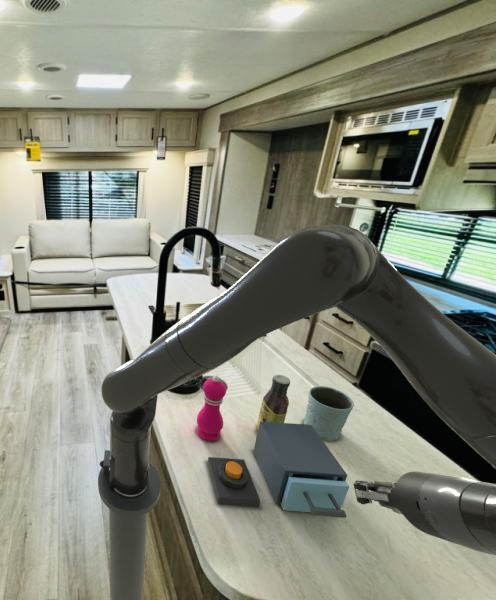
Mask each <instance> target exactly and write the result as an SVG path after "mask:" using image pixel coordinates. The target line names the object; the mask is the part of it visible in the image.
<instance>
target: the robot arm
mask: <svg viewBox="0 0 496 600" xmlns="http://www.w3.org/2000/svg"><path fill="white" fill-rule="evenodd" d="M333 308H336V309H337V310H339V311H340V312H342V313H343V314H344V315H346V316H347V317H348V318H350V319H351V320H352V321H353V322H355V323H356V324H357V325H358V326H359V327H361V328H362V329H363V331H365V332H366V333H368V335H369V336H370V337H371V338H372V339H374V341H375V342H376V343H377V344H378V345H379V346H380V347H381V348H382V349H383V350H384V351H385V353H386V354H387V355H388V357H389V358H390V359H391V360H392V362H393V363H394V364H395V366H396V367H397V368H398V369H399V371H400V372H401V374H402V375H403V376H404V377H405V378H406V380H407V381H408V383H409V384H410V386H412V388H413V389H414V391H416V392H417V394H418V395H420V397H421V398H422V400H423V401H424V402H425V403H426V404H427V406H429V407H430V409H431V410H432V411H433V412H434V413H435V414H436V415H437V416H438V418H440V419H441V420H442V421H443V423H445V424H446V425H447V426H448V427H449V428H450V429H451V430H452V431H453V432H455V434H456V435H458V436H459V438H461V439H462V440H463V441H464V442H465V443H466V444H468V446H470V447H471V448H472V449H473V450H474V451H475V453H477V454H479V456H481V457H482V458H483V459H484V460H485V461H486V462H487V463H488V464H490V465H491V466H492V467H493V468H494V469H495V470H496V354H495V353H494V352H493V351H491V350H490V349H489V348H487V347H486V346H485V345H484V344H482V343H481V342H480V341H478V340H477V339H476V338H475V337H474V336H472V335H470V334H469V333H468V332H467V331H465V330H464V329H463V328H462V327H460V326H459V325H458V324H457V323H455V322H454V321H453V320H452V319H451V318H449V317H448V316H446V315H445V314H444V313H443V312H442V311H441V310H440V309H438V308H437V307H436V306H435V305H434V304H433V303H432V302H430V301H429V300H428V299H427V298H426V297H425V296H424V295H423V294H421V292H420V291H418V290H417V289H416V288H415V287H414V286H413V285H412V284H411V283H410V282H409V281H408V280H407V279H406V278H405V277H404V276H403V275H402V274H401V272H399V270H398V269H397V268H395V266H394V264H392V263H391V261H389V260H388V258H386V257H385V255H384V254H383V253H382V252H381V251H380V249H378V248H377V246H376V245H375V244H374V243H373V242H372V240H371V239H370V238H369V237H368V236H367V235H366V234H365V233H364V232H362V231H361V230H359V229H357V228H354V227H351V226H349V225H344V224H336V223H335V224H322V225H321V224H320V225H316V226H315V225H314V226H310V227H306V228H301V229H299V230H297V231H294V232H292V233H290V234H289V235H287V236H286V237H284V238H283V239H282V240H280V241H278V243H276V244H275V245H274V246H273V247H272V248H271V249H270V250H269V251H268V252H267V253H266V254H265V255H264V256H263V257H262V258H261V259H260V260H259V261H257V262H256V264H254V265H253V266H252V267H251V269H249V270H248V271H247V272H246V273H244V275H243V276H241V277H240V278H239V279H238V280H237V281H236V282H235V283H233V284H232V285H231V286H230V287H229V288H228V289H226V290H225V291H223V292H222V293H220V294H219V295H217V296H216V297H214V298H212V299H210V300H209V301H206V302H205V303H203V304H202V305H200V306H199V307H197V308H196V309H194V310H193V311H191V312H190V313H188V314H187V315H185V316H183V317H182V318H181V319H179V320H178V321H177V322H176V323H175V324H173V325H172V326H171V327H169V328H168V329H167V330H165V332H163V333H162V334H161V335H160V336H159V337H158V338H156V339H155V340H154V341H153V342H151V344H150V345H148V347H146V349H145V350H144V351H142V353H140V354H139V355H138V356H137V357H136V358H133V359H130V360H128V361H127V362H124V363H123V364H121V365H119V366H118V367H117V368H115V369H113V370H112V371H110V372H109V373H108V374H106V376H105V377H104V378H103V380H102V382H101V388H100V389H101V390H100V393H101V397H102V400H103V403H104V404H105V405H106V407H107V408H108V409H109V410H110V411H112V412H111V413H110V418H109V445H110V446H109V450H107V449H105V450H104V454H103V460H101V461H100V462H99V466H100V468H103V475H110V490H113V491H115V492H116V493H117V494H119V495H120V496H122V497H125V498H136V497H139V496H141V495H142V494H143V493H144V492H145V491H146V489H147V487H148V474H149V471H148V470H149V465H150V464H151V463H150V451H151V450H150V449H151V434H152V433H151V430H152V425H153V423H154V421H155V418H156V414H157V405H158V398H159V397H158V395H159V394H162V393H164V392H167V391H169V390H172V389H174V388H175V389H176V388H177V387H179V386H181V385H184V384H186V383H189V382H191V381H193V380H195V379H197V378H200V377H202V376H203V375H206V374H208V373H209V372H212V371H214V370H216V369H217V368H219V367H221V366H223V365H224V364H226V363H228V362H229V361H231V360H232V359H234V358H235V357H237V356H238V355H239V354H241V353H242V352H244V350H246V349H247V348H248V347H250V345H252V344H253V343H254V342H256V341H257V340H258V339H261V338H263V337H264V336H266V335H268V334H270V333H272V332H274V331H277V330H279V329H281V328H284V327H286V326H288V325H291V324H293V323H295V322H298V321H301V320H304V319H307V318H309V317H311V316H314V315H316V314H320V313H322V312H325V311H327V310H330V309H333ZM149 463H150V464H149ZM352 486H353V489H354V493H355V497H356V502H357V503H358V504H360V505H368V504H371V505H372V504H373V501H374V502H377V503H378V505H379V506H381V507H383V508H386V509H389V510H391V511H393V512H394V513H396V514H399V515H402V516H403V517H404V518H405V520H406V521H408V522H409V524H411V525H412V526H413V527H414V528H415V529H417V530H418V531H420V532H422V533H424V534H426V535H429V536H432V537H434V538H438V539H441V540H443V541H446V542H450V543H453V544H455V545H459V546H462V547H465V548H467V549H471V550H474V551H477V552H480V553H483V554H487V555H492V556H496V483H492V482H491V483H490V482H486V481H485V482H484V481H481V480H476V479H474V478H469V477H464V476H455V475H447V474H440V473H432V472H425V471H424V472H423V471H415V470H414V471H409V472H406V473H404V474H402V475H401V476H400V477H399V478H398V479H397V481H387V480H385V481H384V480H383V481H381V480H373V481H367V480H359V479H358V480H355V482H354V483H353V485H352Z"/></svg>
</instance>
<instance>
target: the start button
mask: <svg viewBox="0 0 496 600" xmlns="http://www.w3.org/2000/svg"><path fill="white" fill-rule="evenodd" d="M225 472H226V474H227V476H228V477H230V478H232V479H235V480H237V479H240V478H241V475H242V467H241V466H240V465H239V464H238V463H236V462H233V461H230V462H228V463H227V464H226V468H225Z"/></svg>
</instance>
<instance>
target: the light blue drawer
mask: <svg viewBox="0 0 496 600" xmlns="http://www.w3.org/2000/svg"><path fill="white" fill-rule="evenodd" d="M337 479H338V477H332V476H318V475H305V474H292V473H288V476H287V479H286V483H285V486H284V490H283V493H282V499H283V500H282V503H281V504H280V505H281V508H282V510H283V511H292V512H303V513H310V514H311V515H312V516H319V517H330V518H340V519H341V518H343V519H346V518H347V513H346V511H345V510H344V509H343V508H342V506H343V504H344V502H345V499H346V496H347V495H348V492H349V489H350V485H349V483H348V482H347V480H346V481H337Z"/></svg>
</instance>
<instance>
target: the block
mask: <svg viewBox="0 0 496 600" xmlns="http://www.w3.org/2000/svg"><path fill="white" fill-rule="evenodd" d="M230 461H233V462H236V463H238V464H239V465H240V466H241V467H242V475H241V478H240V479H237V480H235V479H232V478H230V477H228V476H227V474H226V472H225V468H226V464H227V463H228V462H230ZM206 464H207V467H208V471H209V475H210V479H211V483H212V487H213V490H214V494H215V499H216V502H217V504H219V505H231V506H241V507H242V506H243V507H253V508H259V507H260V503H261V499H260V497H259V494H258V491H257V489H256V486H255V484H254V481H253V478H252V476H251V474H250V471H249V468H248V465H247V463H246V461H245V459H243V458H242V459H240V458H230V457H229V458H228V457H214V456H208V457H207V462H206Z"/></svg>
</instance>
